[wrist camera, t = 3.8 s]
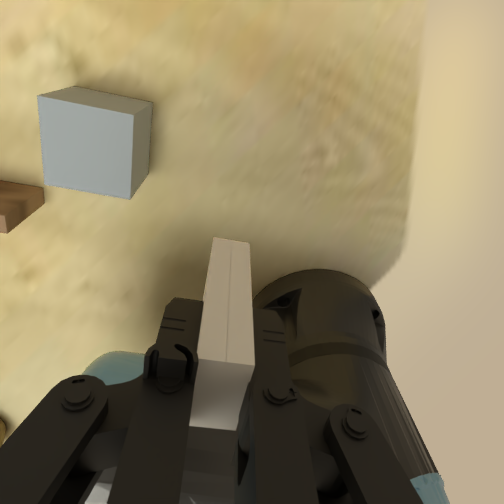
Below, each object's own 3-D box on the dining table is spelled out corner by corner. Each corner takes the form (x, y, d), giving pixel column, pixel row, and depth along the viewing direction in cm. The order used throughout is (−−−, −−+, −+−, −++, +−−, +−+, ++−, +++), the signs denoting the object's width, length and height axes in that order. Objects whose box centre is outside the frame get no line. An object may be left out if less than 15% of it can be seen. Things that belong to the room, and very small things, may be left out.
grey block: (152, 102, 29) (133, 115, 24) (148, 174, 32) (130, 199, 27) (74, 85, 28) (37, 95, 23) (77, 161, 31) (44, 184, 26)
